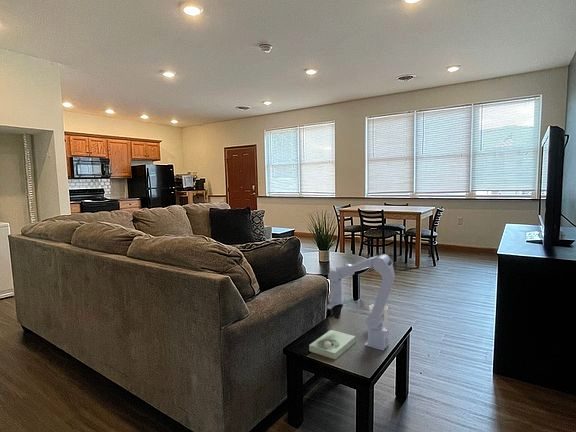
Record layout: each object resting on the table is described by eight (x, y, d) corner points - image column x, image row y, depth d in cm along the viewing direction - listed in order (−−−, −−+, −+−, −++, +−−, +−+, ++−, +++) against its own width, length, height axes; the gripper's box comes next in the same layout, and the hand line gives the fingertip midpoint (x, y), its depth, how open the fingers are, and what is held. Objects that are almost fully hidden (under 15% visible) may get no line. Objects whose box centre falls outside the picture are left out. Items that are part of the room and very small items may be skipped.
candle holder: (368, 331, 179) (367, 309, 178) (370, 323, 188) (370, 302, 187) (387, 333, 176) (387, 310, 175) (388, 325, 185) (388, 304, 184)
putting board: (355, 342, 167) (355, 336, 167) (335, 359, 152) (335, 353, 152) (331, 335, 176) (331, 329, 176) (309, 351, 160) (309, 345, 160)
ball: (331, 339, 162) (329, 346, 164) (323, 338, 162) (321, 345, 163) (333, 345, 159) (331, 352, 160) (325, 345, 158) (323, 351, 159)
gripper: (336, 287, 181) (337, 312, 182) (321, 295, 170) (322, 321, 171) (348, 289, 177) (348, 314, 178) (334, 297, 165) (334, 324, 167)
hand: (336, 318), depth 174 cm, fingers closed
